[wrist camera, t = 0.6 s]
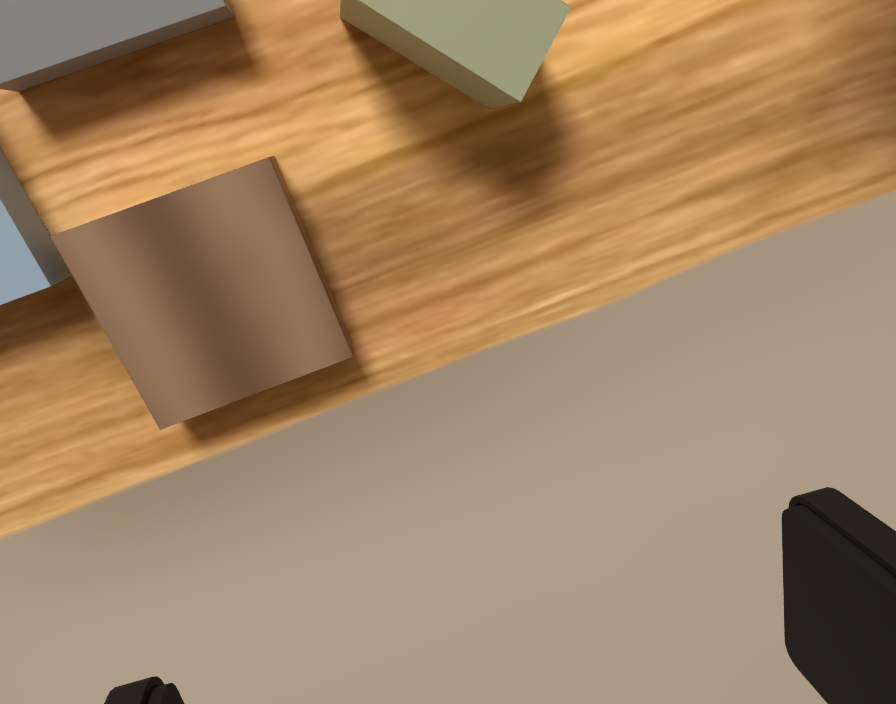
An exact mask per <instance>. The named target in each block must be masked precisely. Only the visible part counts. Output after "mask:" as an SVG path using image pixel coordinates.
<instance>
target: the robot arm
mask: <svg viewBox="0 0 896 704" xmlns="http://www.w3.org/2000/svg"><path fill="white" fill-rule="evenodd" d="M782 546H783V547H782V548H783V585H784V586H783V588H784V628H785V645H786V648H787V651H788V654H789V656H790V658H791V660H792V661H793V663H794V665H795V666H796V667H797V669H798V670H799V671H800V672H801V673H802V674H803V675H804V677H805V678H806V679H807V680H808V681H809V682H810V684H811V685H812V686H813V687H814V688H815V689H816V691H817V692H818V693H819V694H820V695H821V696H822V698H823V699H824V700H825V701H826V702H827V703H828V704H896V531H895V530H893V529H892V528H890V527H889V526H887V525H886V524H885V523H883V522H882V521H880V520H879V519H878V518H876V517H875V516H873V515H872V514H871V513H869V512H868V511H866V510H865V509H864V508H862V507H861V506H859V505H858V504H856V503H855V502H854V501H852V500H851V499H849V498H848V497H847V496H845V495H844V494H842V493H841V492H839V491H837V490H836V489H834V488H829V487H826V488H823V489H819V490H816V491H812V492H809V493H805V494H802V495H798V496H795V497H793V498H792V499H791V501H790V502H789V508H788V509H786V510H784V511H783V513H782ZM104 704H184V702H183V700H182V698H181V696H180V694H179V691H178V689H177V688H176V686H175V685H174V684H173V683H169V684H165V685H164V683H163V682H162V680H161V679H160V678H158V677H150V678H147V679H143V680H140V681H136V682H133V683H129V684H126V685H122V686H118V687H115V688H114V689H113V690H111V691H110V693H109V695H108V697H107V699H106V701H105V703H104Z"/></svg>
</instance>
